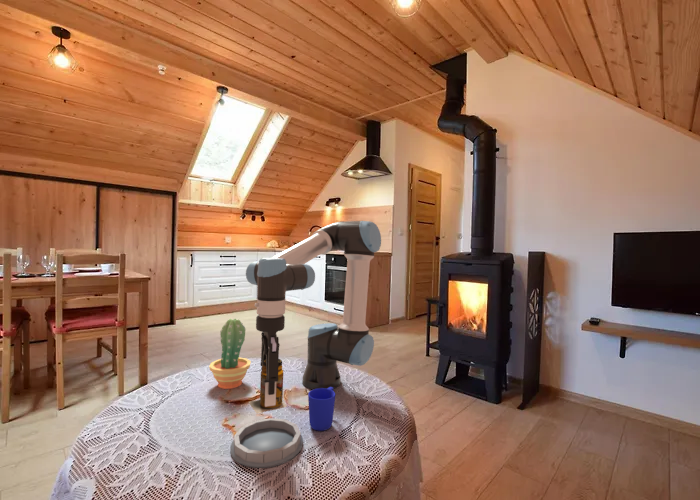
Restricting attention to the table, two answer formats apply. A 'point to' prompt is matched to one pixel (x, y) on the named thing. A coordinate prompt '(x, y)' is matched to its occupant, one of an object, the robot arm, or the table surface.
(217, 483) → the table surface
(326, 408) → the mug
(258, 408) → the condiment
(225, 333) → the potted cactus
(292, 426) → the bowl
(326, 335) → the robot arm
